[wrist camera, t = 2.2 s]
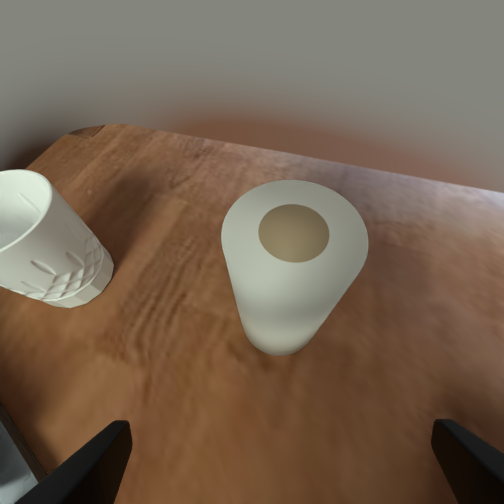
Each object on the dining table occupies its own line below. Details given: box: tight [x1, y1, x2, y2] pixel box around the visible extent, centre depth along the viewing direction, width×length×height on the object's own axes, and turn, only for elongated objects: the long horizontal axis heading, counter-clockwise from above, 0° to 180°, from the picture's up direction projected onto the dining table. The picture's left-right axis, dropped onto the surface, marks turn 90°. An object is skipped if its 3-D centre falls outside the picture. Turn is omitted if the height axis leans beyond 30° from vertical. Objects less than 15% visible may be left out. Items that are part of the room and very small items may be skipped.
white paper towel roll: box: [221, 180, 368, 356], centre depth 17 cm, size 7×7×13 cm
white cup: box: [0, 170, 114, 308], centre depth 22 cm, size 8×8×10 cm
